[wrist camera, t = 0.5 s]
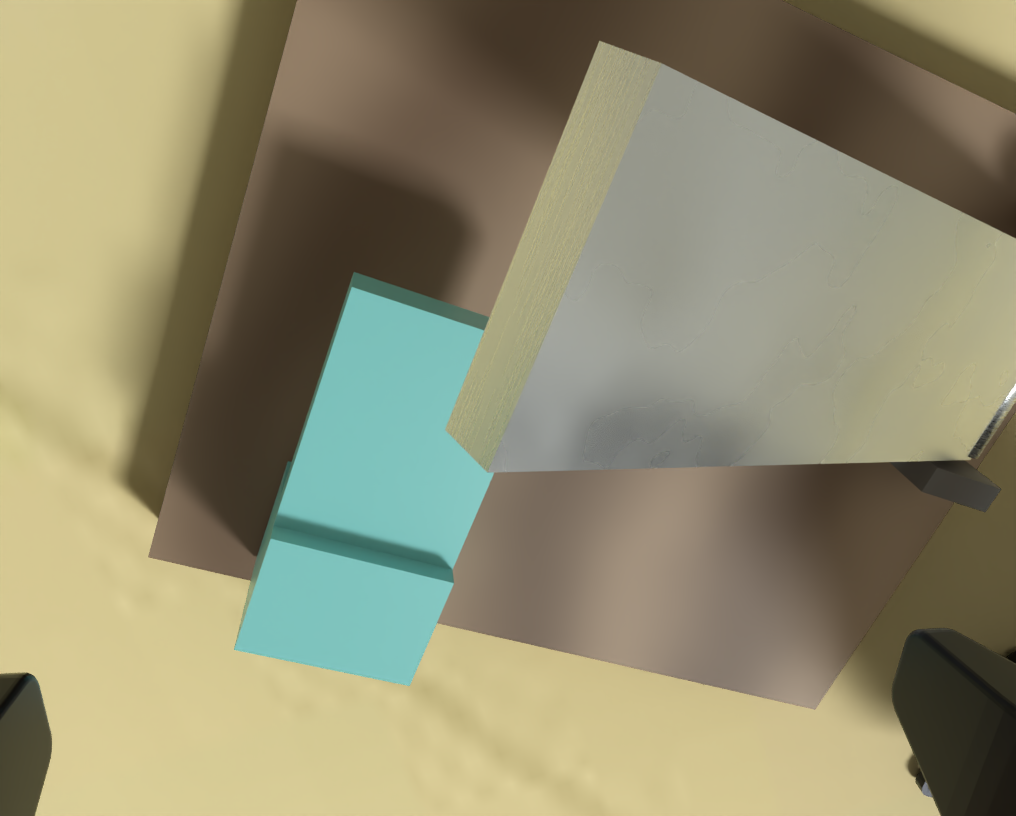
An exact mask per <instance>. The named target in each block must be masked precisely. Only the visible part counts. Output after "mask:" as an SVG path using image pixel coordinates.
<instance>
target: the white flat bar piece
mask: <svg viewBox="0 0 1016 816" xmlns="http://www.w3.org/2000/svg"><path fill="white" fill-rule="evenodd" d="M1015 402H1016V238H1014V237H1012V236H1010V235H1007V234H1005V233H1003V232H1001V231H999V230H997V229H995V228H993V227H991V226H989V225H987V224H985V223H983V222H981V221H979V220H977V219H975V218H973V217H971V216H969V215H967V214H965V213H963V212H961V211H959V210H957V209H955V208H953V207H951V206H949V205H947V204H945V203H943V202H941V201H939V200H937V199H935V198H933V197H931V196H929V195H927V194H925V193H923V192H921V191H919V190H917V189H915V188H913V187H911V186H909V185H906V184H904V183H902V182H900V181H898V180H896V179H894V178H892V177H890V176H888V175H886V174H884V173H882V172H880V171H878V170H876V169H874V168H872V167H870V166H868V165H866V164H864V163H862V162H860V161H858V160H856V159H854V158H852V157H850V156H848V155H846V154H844V153H842V152H840V151H838V150H836V149H834V148H832V147H830V146H828V145H826V144H824V143H822V142H820V141H818V140H816V139H814V138H812V137H810V136H808V135H805V134H803V133H801V132H799V131H797V130H795V129H793V128H791V127H789V126H787V125H785V124H783V123H781V122H779V121H777V120H775V119H773V118H771V117H769V116H767V115H765V114H763V113H761V112H759V111H757V110H755V109H753V108H751V107H749V106H747V105H745V104H743V103H741V102H739V101H737V100H735V99H733V98H731V97H729V96H727V95H725V94H723V93H721V92H719V91H717V90H715V89H713V88H711V87H709V86H707V85H704V84H702V83H700V82H698V81H696V80H694V79H692V78H690V77H688V76H686V75H684V74H682V73H680V72H678V71H676V70H674V69H672V68H670V67H668V66H666V65H664V64H662V63H659V62H657V61H654V60H651V59H648V58H646V57H643V56H640V55H637V54H634V53H632V52H629V51H626V50H623V49H621V48H618V47H615V46H612V45H610V44H607V43H604V42H601V41H599V43H598V46H597V48H596V51H595V53H594V56H593V58H592V61H591V63H590V66H589V68H588V71H587V73H586V76H585V78H584V81H583V83H582V86H581V88H580V91H579V93H578V96H577V98H576V101H575V103H574V106H573V108H572V111H571V114H570V116H569V119H568V121H567V124H566V126H565V129H564V131H563V134H562V136H561V139H560V141H559V144H558V146H557V149H556V151H555V154H554V156H553V159H552V161H551V164H550V166H549V169H548V171H547V174H546V176H545V179H544V182H543V184H542V187H541V189H540V192H539V194H538V197H537V199H536V202H535V204H534V207H533V209H532V212H531V214H530V217H529V219H528V222H527V224H526V227H525V229H524V232H523V234H522V237H521V239H520V242H519V244H518V247H517V249H516V252H515V255H514V257H513V260H512V262H511V265H510V267H509V270H508V272H507V275H506V277H505V280H504V282H503V285H502V287H501V290H500V292H499V295H498V297H497V300H496V302H495V305H494V307H493V310H492V312H491V315H490V317H489V320H488V323H487V325H486V328H485V330H484V333H483V335H482V338H481V340H480V343H479V345H478V348H477V350H476V353H475V355H474V358H473V360H472V363H471V365H470V368H469V370H468V373H467V375H466V378H465V380H464V383H463V385H462V388H461V391H460V393H459V396H458V398H457V401H456V403H455V406H454V408H453V411H452V413H451V416H450V418H449V421H448V423H447V426H446V428H445V430H446V431H447V432H448V433H449V434H450V435H451V436H452V437H453V438H454V439H455V440H456V442H457V443H458V444H459V445H460V446H461V447H462V448H463V449H464V450H465V451H466V452H467V453H468V454H469V455H470V456H471V457H472V458H473V459H474V460H475V461H476V462H477V463H478V464H479V465H480V466H481V467H482V468H483V469H484V470H485V471H486V472H487V473H494V472H531V471H569V470H607V469H645V468H683V467H721V466H759V465H797V464H835V463H873V462H911V461H949V460H971V458H974V459H978V457H979V456H980V454H981V453H982V451H983V450H984V448H985V447H986V445H987V444H988V442H989V441H990V439H991V438H992V436H993V435H994V433H995V432H996V430H997V429H998V428H999V426H1000V425H1001V423H1002V422H1003V420H1004V419H1005V417H1006V416H1007V414H1008V413H1009V411H1010V410H1011V408H1012V407H1013V405H1014V404H1015Z"/></svg>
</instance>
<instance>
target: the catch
mask: <svg viewBox="0 0 1016 816" xmlns="http://www.w3.org/2000/svg"><path fill="white" fill-rule="evenodd" d="M488 320H489V317H488V316H485V315H482V314H479V313H476V312H473V311H470V310H467V309H464V308H461V307H458V306H455V305H452V304H449V303H446V302H443V301H440V300H437V299H434V298H431V297H428V296H425V295H422V294H419V293H416V292H413V291H410V290H407V289H404V288H401V287H398V286H395V285H392V284H389V283H386V282H383V281H380V280H377V279H374V278H371V277H368V276H365V275H362V274H359V273H356V272H354V273H353V276H352V279H351V282H350V285H349V288H348V291H347V294H346V297H345V300H344V303H343V306H342V309H341V313H340V316H339V319H338V322H337V325H336V328H335V331H334V334H333V337H332V340H331V343H330V346H329V349H328V352H327V355H326V358H325V362H324V365H323V368H322V371H321V374H320V377H319V380H318V383H317V386H316V389H315V392H314V395H313V398H312V401H311V404H310V407H309V411H308V414H307V417H306V420H305V423H304V426H303V429H302V432H301V435H300V438H299V441H298V444H297V447H296V450H295V453H294V456H293V460H292V462H289V461H288V462H287V466H286V469H285V472H284V475H283V478H282V481H281V484H280V487H279V490H278V493H277V496H276V499H275V503H274V506H273V509H272V512H271V515H270V518H269V521H268V524H267V527H266V530H265V533H264V536H263V539H262V543H261V546H260V549H259V552H258V555H257V558H256V561H255V565H254V569H253V574H252V578H251V582H250V586H249V590H248V594H247V598H246V603H245V607H244V611H243V615H242V619H241V623H240V627H239V632H238V636H237V640H236V644H235V648H234V650H238V651H243V652H247V653H252V654H257V655H262V656H267V657H272V658H276V659H281V660H286V661H291V662H296V663H301V664H306V665H310V666H315V667H320V668H325V669H330V670H335V671H340V672H344V673H349V674H354V675H359V676H364V677H369V678H373V679H378V680H383V681H388V682H393V683H398V684H403V685H407V686H410V684H411V681H412V679H413V677H414V674H415V672H416V670H417V667H418V665H419V663H420V661H421V658H422V656H423V654H424V651H425V649H426V647H427V644H428V642H429V640H430V638H431V635H432V633H433V631H434V628H435V626H436V624H437V621H438V619H439V617H440V615H441V612H442V610H443V608H444V605H445V603H446V601H447V598H448V596H449V594H450V591H451V589H452V587H453V585H454V578H453V567H454V565H455V563H456V560H457V558H458V556H459V553H460V551H461V549H462V546H463V544H464V542H465V539H466V537H467V535H468V533H469V530H470V528H471V526H472V523H473V521H474V519H475V516H476V514H477V512H478V509H479V507H480V505H481V502H482V500H483V498H484V495H485V493H486V491H487V488H488V486H489V484H490V481H491V479H492V477H493V474H494V473H487V472H486V471H485V470H484V469H483V468H482V467H481V466H480V465H479V464H478V463H477V462H476V461H475V460H474V459H473V458H472V457H471V456H470V455H469V454H468V453H467V452H466V451H465V450H464V449H463V448H462V447H461V446H460V445H459V444H458V443H457V442H456V440H455V439H454V438H453V437H452V436H451V435H450V434H449V433H448V432H447V431H446V430H445V428H446V426H447V423H448V421H449V418H450V416H451V413H452V411H453V408H454V406H455V403H456V401H457V398H458V396H459V393H460V391H461V388H462V385H463V383H464V380H465V378H466V375H467V373H468V370H469V368H470V365H471V363H472V360H473V358H474V355H475V353H476V350H477V348H478V345H479V343H480V340H481V338H482V335H483V333H484V330H485V328H486V325H487V323H488Z"/></svg>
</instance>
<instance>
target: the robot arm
mask: <svg viewBox="0 0 1016 816" xmlns="http://www.w3.org/2000/svg"><path fill="white" fill-rule="evenodd" d="M892 701H893V706H894V709H895V712H896V714H897V717H898V719H899V721H900V723H901V726H902V728H903V730H904V733H905V735H906V737H907V739H908V742H909V744H910V746H911V749H912V751H913V753H914V755H915V758H916V760H917V762H918V765H919V767H920V769H921V771H920V773H919V774H918V775H917V777H916V784H917V785H918V787H919V788H920V790H921V791H922V793H923V794H924V795H926V796H928V797H933V799H934V801H935V804H936V806H937V808H938V811H939V813H940V815H941V816H1016V651H1015V652H1014V653H1012V654H1010V655H1009V656H1008V657H1007V658H1005V657H1003V656H1001V655H999V654H997V653H995V652H993V651H992V650H990V649H988V648H986V647H984V646H982V645H981V644H979V643H977V642H975V641H973V640H971V639H970V638H968V637H966V636H964V635H962V634H960V633H958V632H957V631H954V630H952V629H948V628H933V629H918V630H915V631H912V632H911V633H910V635H909V636H908V637H907V639H906V642H905V645H904V648H903V651H902V655H901V658H900V661H899V665H898V668H897V671H896V675H895V678H894V681H893V685H892ZM51 752H52V736H51V731H50V727H49V723H48V719H47V715H46V711H45V707H44V703H43V698H42V694H41V690H40V686H39V683H38V681H37V679H36V678H35V676H33V675H32V674H29V673H5V674H0V816H35V813H36V809H37V806H38V802H39V799H40V795H41V792H42V788H43V784H44V781H45V777H46V774H47V770H48V767H49V763H50V759H51Z"/></svg>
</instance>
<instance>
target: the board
mask: <svg viewBox="0 0 1016 816" xmlns="http://www.w3.org/2000/svg"><path fill="white" fill-rule="evenodd" d="M599 41H601V42H604V43H607V44H610V45H612V46H615V47H618V48H621V49H623V50H626V51H629V52H632V53H634V54H637V55H640V56H643V57H646V58H648V59H651V60H654V61H657V62H659V63H662V64H664V65H666V66H668V67H670V68H672V69H674V70H676V71H678V72H680V73H682V74H684V75H686V76H688V77H690V78H692V79H694V80H696V81H698V82H700V83H702V84H704V85H707V86H709V87H711V88H713V89H715V90H717V91H719V92H721V93H723V94H725V95H727V96H729V97H731V98H733V99H735V100H737V101H739V102H741V103H743V104H745V105H747V106H749V107H751V108H753V109H755V110H757V111H759V112H761V113H763V114H765V115H767V116H769V117H771V118H773V119H775V120H777V121H779V122H781V123H783V124H785V125H787V126H789V127H791V128H793V129H795V130H797V131H799V132H801V133H803V134H805V135H808V136H810V137H812V138H814V139H816V140H818V141H820V142H822V143H824V144H826V145H828V146H830V147H832V148H834V149H836V150H838V151H840V152H842V153H844V154H846V155H848V156H850V157H852V158H854V159H856V160H858V161H860V162H862V163H864V164H866V165H868V166H870V167H872V168H874V169H876V170H878V171H880V172H882V173H884V174H886V175H888V176H890V177H892V178H894V179H896V180H898V181H900V182H902V183H904V184H906V185H909V186H911V187H913V188H915V189H917V190H919V191H921V192H923V193H925V194H927V195H929V196H931V197H933V198H935V199H937V200H939V201H941V202H943V203H945V204H947V205H949V206H951V207H953V208H955V209H957V210H959V211H961V212H963V213H965V214H967V215H969V216H971V217H973V218H975V219H977V220H979V221H981V222H983V223H985V224H987V225H989V226H991V227H993V228H995V229H997V230H999V231H1001V232H1003V233H1005V234H1007V235H1010V236H1012V237H1014V238H1016V114H1015V113H1013V112H1011V111H1009V110H1007V109H1005V108H1003V107H1001V106H999V105H997V104H994V103H992V102H990V101H988V100H986V99H984V98H982V97H980V96H978V95H976V94H974V93H972V92H970V91H968V90H966V89H964V88H962V87H959V86H957V85H955V84H953V83H951V82H949V81H947V80H945V79H943V78H941V77H939V76H937V75H935V74H933V73H931V72H929V71H927V70H924V69H922V68H920V67H918V66H916V65H914V64H912V63H910V62H908V61H906V60H904V59H902V58H900V57H898V56H896V55H894V54H892V53H890V52H887V51H885V50H883V49H881V48H879V47H877V46H875V45H873V44H871V43H869V42H867V41H865V40H863V39H861V38H859V37H857V36H855V35H852V34H850V33H848V32H846V31H844V30H842V29H840V28H838V27H836V26H834V25H832V24H830V23H828V22H826V21H824V20H822V19H820V18H817V17H815V16H813V15H811V14H809V13H807V12H805V11H803V10H801V9H799V8H797V7H795V6H793V5H791V4H789V3H787V2H785V1H782V0H297V2H296V6H295V10H294V14H293V17H292V21H291V25H290V29H289V32H288V36H287V40H286V44H285V47H284V51H283V55H282V59H281V62H280V66H279V70H278V73H277V77H276V81H275V85H274V88H273V92H272V96H271V100H270V103H269V107H268V111H267V115H266V118H265V122H264V126H263V130H262V133H261V137H260V141H259V145H258V148H257V152H256V156H255V160H254V163H253V167H252V171H251V175H250V178H249V182H248V186H247V189H246V193H245V197H244V201H243V204H242V208H241V212H240V216H239V219H238V223H237V227H236V231H235V234H234V238H233V242H232V246H231V249H230V253H229V257H228V261H227V264H226V268H225V272H224V276H223V279H222V283H221V287H220V290H219V294H218V298H217V302H216V305H215V309H214V313H213V317H212V320H211V324H210V328H209V332H208V335H207V339H206V343H205V347H204V350H203V354H202V358H201V362H200V365H199V369H198V373H197V377H196V380H195V384H194V388H193V392H192V395H191V399H190V403H189V406H188V410H187V414H186V418H185V421H184V425H183V429H182V433H181V436H180V440H179V444H178V448H177V451H176V455H175V459H174V463H173V466H172V470H171V474H170V478H169V481H168V485H167V489H166V493H165V496H164V500H163V504H162V508H161V511H160V515H159V519H158V522H157V526H156V530H155V534H154V537H153V541H152V545H151V549H150V552H149V556H148V557H150V558H154V559H159V560H163V561H167V562H172V563H176V564H180V565H185V566H189V567H194V568H198V569H202V570H207V571H211V572H215V573H220V574H224V575H229V576H233V577H237V578H242V579H246V580H250V581H251V578H252V574H253V569H254V565H255V561H256V558H257V555H258V552H259V549H260V546H261V543H262V539H263V536H264V533H265V530H266V527H267V524H268V521H269V518H270V515H271V512H272V509H273V506H274V503H275V499H276V496H277V493H278V490H279V487H280V484H281V481H282V478H283V475H284V472H285V469H286V466H287V462H288V461H289V462H292V460H293V456H294V453H295V450H296V447H297V444H298V441H299V438H300V435H301V432H302V429H303V426H304V423H305V420H306V417H307V414H308V411H309V407H310V404H311V401H312V398H313V395H314V392H315V389H316V386H317V383H318V380H319V377H320V374H321V371H322V368H323V365H324V362H325V358H326V355H327V352H328V349H329V346H330V343H331V340H332V337H333V334H334V331H335V328H336V325H337V322H338V319H339V316H340V313H341V309H342V306H343V303H344V300H345V297H346V294H347V291H348V288H349V285H350V282H351V279H352V276H353V273H354V272H356V273H359V274H362V275H365V276H368V277H371V278H374V279H377V280H380V281H383V282H386V283H389V284H392V285H395V286H398V287H401V288H404V289H407V290H410V291H413V292H416V293H419V294H422V295H425V296H428V297H431V298H434V299H437V300H440V301H443V302H446V303H449V304H452V305H455V306H458V307H461V308H464V309H467V310H470V311H473V312H476V313H479V314H482V315H485V316H488V317H490V315H491V312H492V310H493V307H494V305H495V302H496V300H497V297H498V295H499V292H500V290H501V287H502V285H503V282H504V280H505V277H506V275H507V272H508V270H509V267H510V265H511V262H512V260H513V257H514V255H515V252H516V249H517V247H518V244H519V242H520V239H521V237H522V234H523V232H524V229H525V227H526V224H527V222H528V219H529V217H530V214H531V212H532V209H533V207H534V204H535V202H536V199H537V197H538V194H539V192H540V189H541V187H542V184H543V182H544V179H545V176H546V174H547V171H548V169H549V166H550V164H551V161H552V159H553V156H554V154H555V151H556V149H557V146H558V144H559V141H560V139H561V136H562V134H563V131H564V129H565V126H566V124H567V121H568V119H569V116H570V114H571V111H572V108H573V106H574V103H575V101H576V98H577V96H578V93H579V91H580V88H581V86H582V83H583V81H584V78H585V76H586V73H587V71H588V68H589V66H590V63H591V61H592V58H593V56H594V53H595V51H596V48H597V46H598V43H599ZM1015 412H1016V402H1015V404H1014V405H1013V407H1012V408H1011V410H1010V411H1009V413H1008V414H1007V416H1006V417H1005V419H1004V420H1003V422H1002V423H1001V425H1000V426H999V428H998V429H997V430H996V432H995V433H994V435H993V436H992V438H991V439H990V441H989V442H988V444H987V445H986V447H985V448H984V450H983V451H982V453H981V454H980V456H979V457H978V459H974V458H971V460H949V461H911V462H873V463H835V464H797V465H759V466H721V467H683V468H645V469H607V470H569V471H531V472H494V474H493V477H492V479H491V481H490V484H489V486H488V488H487V491H486V493H485V495H484V498H483V500H482V502H481V505H480V507H479V509H478V512H477V514H476V516H475V519H474V521H473V523H472V526H471V528H470V530H469V533H468V535H467V537H466V539H465V542H464V544H463V546H462V549H461V551H460V553H459V556H458V558H457V560H456V563H455V565H454V567H453V578H454V585H453V587H452V589H451V591H450V594H449V596H448V598H447V601H446V603H445V605H444V608H443V610H442V612H441V615H440V617H439V619H438V621H437V623H439V624H443V625H447V626H452V627H456V628H460V629H465V630H469V631H474V632H478V633H482V634H487V635H491V636H495V637H500V638H504V639H509V640H513V641H517V642H522V643H526V644H531V645H535V646H539V647H544V648H548V649H552V650H557V651H561V652H566V653H570V654H574V655H579V656H583V657H587V658H592V659H596V660H601V661H605V662H609V663H614V664H618V665H622V666H627V667H631V668H636V669H640V670H644V671H649V672H653V673H657V674H662V675H666V676H671V677H675V678H679V679H684V680H688V681H692V682H697V683H701V684H706V685H710V686H714V687H719V688H723V689H727V690H732V691H736V692H741V693H745V694H749V695H754V696H758V697H762V698H767V699H771V700H776V701H780V702H784V703H789V704H793V705H797V706H802V707H806V708H811V709H816V707H817V706H818V704H819V703H820V701H821V700H822V698H823V697H824V695H825V694H826V693H827V691H828V690H829V688H830V687H831V685H832V684H833V682H834V681H835V679H836V678H837V676H838V675H839V673H840V672H841V670H842V669H843V667H844V666H845V664H846V663H847V661H848V660H849V658H850V657H851V655H852V654H853V652H854V651H855V649H856V648H857V646H858V645H859V643H860V642H861V641H862V639H863V638H864V636H865V635H866V633H867V632H868V630H869V629H870V627H871V626H872V624H873V623H874V621H875V620H876V618H877V617H878V615H879V614H880V612H881V611H882V609H883V608H884V606H885V605H886V603H887V602H888V600H889V599H890V597H891V596H892V594H893V593H894V591H895V590H896V589H897V587H898V586H899V584H900V583H901V581H902V580H903V578H904V577H905V575H906V574H907V572H908V571H909V569H910V568H911V566H912V565H913V563H914V562H915V560H916V559H917V557H918V556H919V554H920V553H921V551H922V550H923V548H924V547H925V545H926V544H927V542H928V541H929V539H930V538H931V537H932V535H933V534H934V532H935V531H936V529H937V528H938V526H939V525H940V523H941V522H942V520H943V519H944V517H945V516H946V514H947V513H948V511H949V510H950V508H951V507H952V505H953V504H954V502H955V503H958V504H961V505H964V506H967V507H970V508H974V509H977V510H980V511H983V512H986V511H987V509H988V508H989V506H990V505H991V503H992V502H993V501H994V499H995V498H996V496H997V495H998V493H999V492H1000V490H1001V489H1000V488H999V487H998V486H997V485H995V484H994V483H993V482H992V481H990V480H989V479H988V478H987V477H985V476H984V475H983V474H982V473H980V472H979V471H978V470H977V468H978V467H979V465H980V464H981V462H982V461H983V459H984V458H985V456H986V455H987V453H988V452H989V450H990V449H991V447H992V446H993V444H994V443H995V441H996V440H997V438H998V437H999V435H1000V434H1001V433H1002V431H1003V430H1004V428H1005V427H1006V425H1007V424H1008V422H1009V421H1010V419H1011V418H1012V416H1013V415H1014V413H1015Z"/></svg>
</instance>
